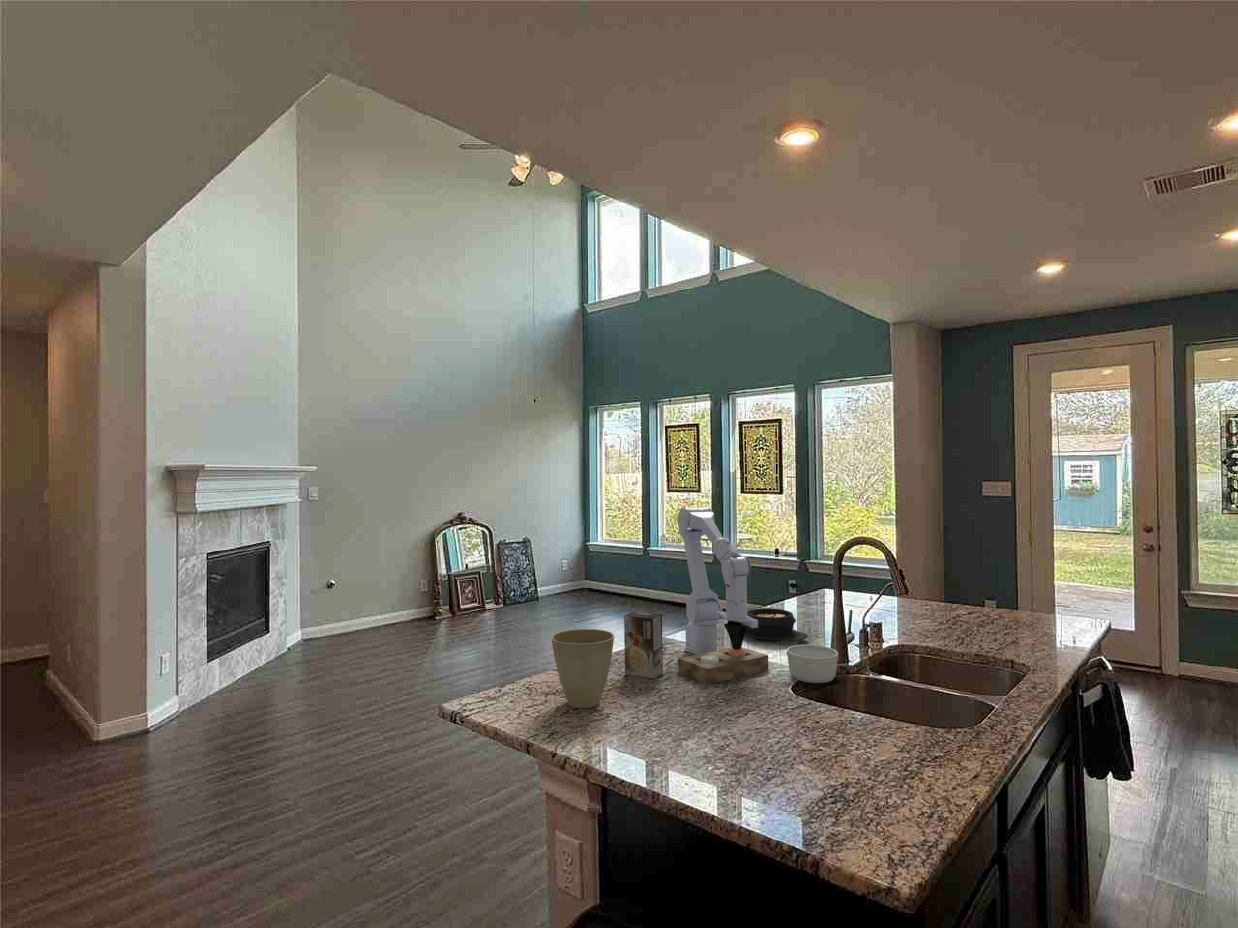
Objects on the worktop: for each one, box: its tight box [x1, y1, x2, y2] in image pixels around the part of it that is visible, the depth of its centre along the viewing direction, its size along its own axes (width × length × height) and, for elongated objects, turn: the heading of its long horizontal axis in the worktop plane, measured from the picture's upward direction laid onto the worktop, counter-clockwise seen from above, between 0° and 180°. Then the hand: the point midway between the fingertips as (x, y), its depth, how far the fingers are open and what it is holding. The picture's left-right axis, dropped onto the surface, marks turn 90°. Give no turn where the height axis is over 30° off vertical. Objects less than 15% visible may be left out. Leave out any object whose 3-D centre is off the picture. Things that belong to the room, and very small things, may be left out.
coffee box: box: [623, 610, 664, 680], centre depth 177 cm, size 9×6×16 cm
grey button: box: [701, 655, 719, 664], centre depth 176 cm, size 5×5×4 cm
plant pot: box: [550, 628, 615, 709], centre depth 155 cm, size 15×15×16 cm
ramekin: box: [786, 644, 839, 684], centre depth 173 cm, size 13×13×7 cm
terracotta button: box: [727, 646, 747, 658], centre depth 181 cm, size 5×5×4 cm
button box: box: [677, 647, 769, 685], centre depth 178 cm, size 12×22×4 cm, turn 124°
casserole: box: [744, 607, 808, 643], centre depth 214 cm, size 25×19×8 cm
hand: (736, 648), depth 181 cm, fingers closed, pressing on terracotta button
